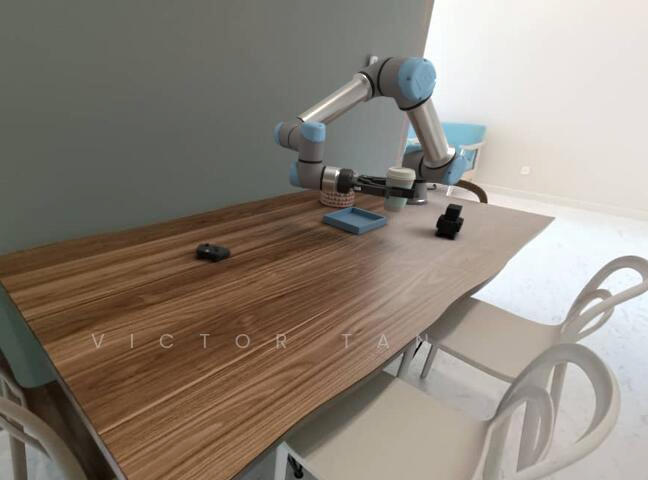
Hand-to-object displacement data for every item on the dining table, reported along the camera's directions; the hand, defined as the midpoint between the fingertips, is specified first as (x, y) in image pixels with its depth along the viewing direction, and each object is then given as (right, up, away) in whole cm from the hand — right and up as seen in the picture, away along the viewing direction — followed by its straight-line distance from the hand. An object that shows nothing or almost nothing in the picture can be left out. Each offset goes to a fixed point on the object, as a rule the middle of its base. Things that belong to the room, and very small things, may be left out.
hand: (414, 190), depth 116 cm
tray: (-12, -4, +26) cm, 29 cm away
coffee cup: (-5, -5, +5) cm, 8 cm away
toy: (+20, -9, +23) cm, 32 cm away
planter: (-15, +8, +46) cm, 49 cm away
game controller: (-59, -20, -5) cm, 63 cm away
